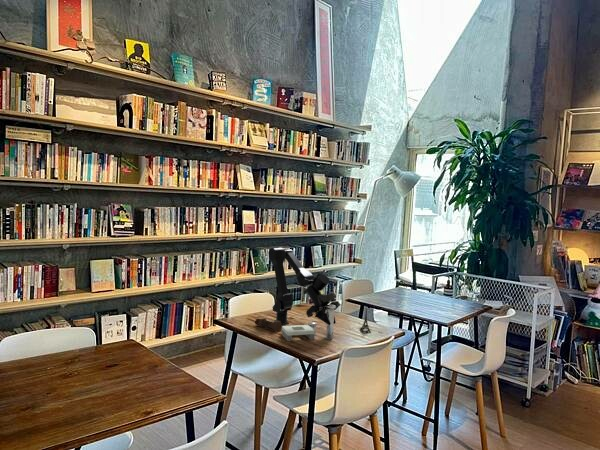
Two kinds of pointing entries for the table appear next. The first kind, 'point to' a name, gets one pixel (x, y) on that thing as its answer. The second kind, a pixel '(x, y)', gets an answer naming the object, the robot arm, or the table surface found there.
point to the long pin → (331, 318)
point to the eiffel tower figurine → (366, 326)
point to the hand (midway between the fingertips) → (332, 324)
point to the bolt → (269, 324)
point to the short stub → (313, 325)
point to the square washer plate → (297, 331)
